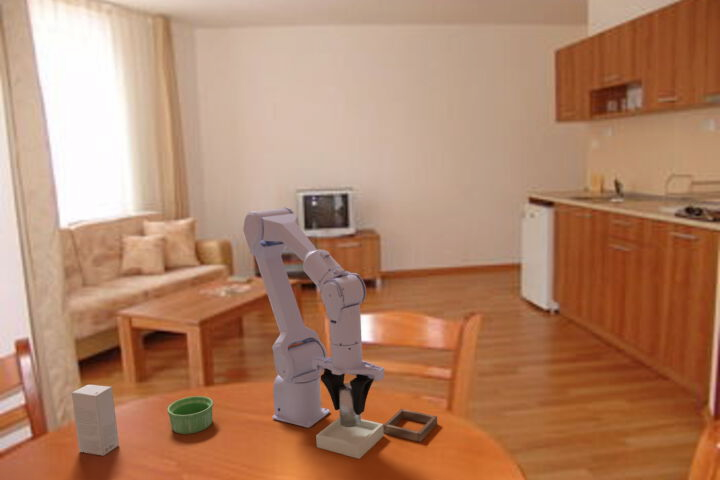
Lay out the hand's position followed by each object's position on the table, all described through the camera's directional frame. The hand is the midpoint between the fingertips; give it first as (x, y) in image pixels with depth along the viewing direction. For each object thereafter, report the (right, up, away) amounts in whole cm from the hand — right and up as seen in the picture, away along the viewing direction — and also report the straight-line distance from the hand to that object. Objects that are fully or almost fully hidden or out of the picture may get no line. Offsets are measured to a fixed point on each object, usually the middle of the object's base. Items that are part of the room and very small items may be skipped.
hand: (349, 410), depth 106 cm
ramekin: (-32, -6, +10) cm, 35 cm away
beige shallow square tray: (0, -6, +1) cm, 6 cm away
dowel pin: (0, -2, +1) cm, 3 cm away
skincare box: (-48, -8, +2) cm, 49 cm away
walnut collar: (+12, -5, +5) cm, 14 cm away
